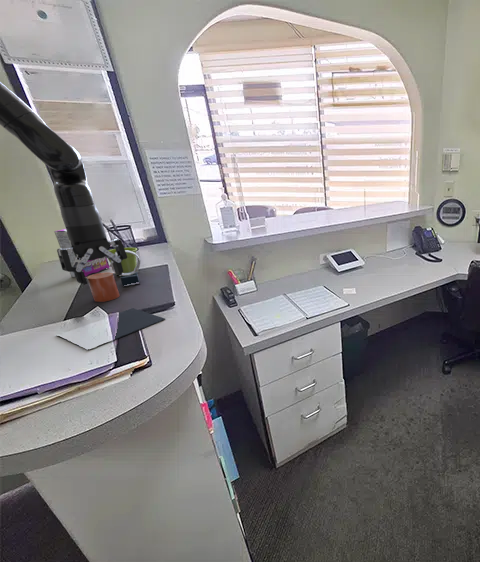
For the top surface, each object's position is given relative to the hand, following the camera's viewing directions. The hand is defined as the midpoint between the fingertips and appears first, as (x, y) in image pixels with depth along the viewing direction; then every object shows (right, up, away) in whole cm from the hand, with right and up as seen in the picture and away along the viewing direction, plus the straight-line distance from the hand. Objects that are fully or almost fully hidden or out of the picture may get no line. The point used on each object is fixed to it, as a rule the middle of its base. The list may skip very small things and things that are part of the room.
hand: (102, 279), depth 89 cm
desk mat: (+16, -12, -15) cm, 24 cm away
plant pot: (-11, +2, +22) cm, 25 cm away
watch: (-2, -2, +13) cm, 13 cm away
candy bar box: (-25, +2, +23) cm, 34 cm away
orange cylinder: (0, -6, +2) cm, 6 cm away
